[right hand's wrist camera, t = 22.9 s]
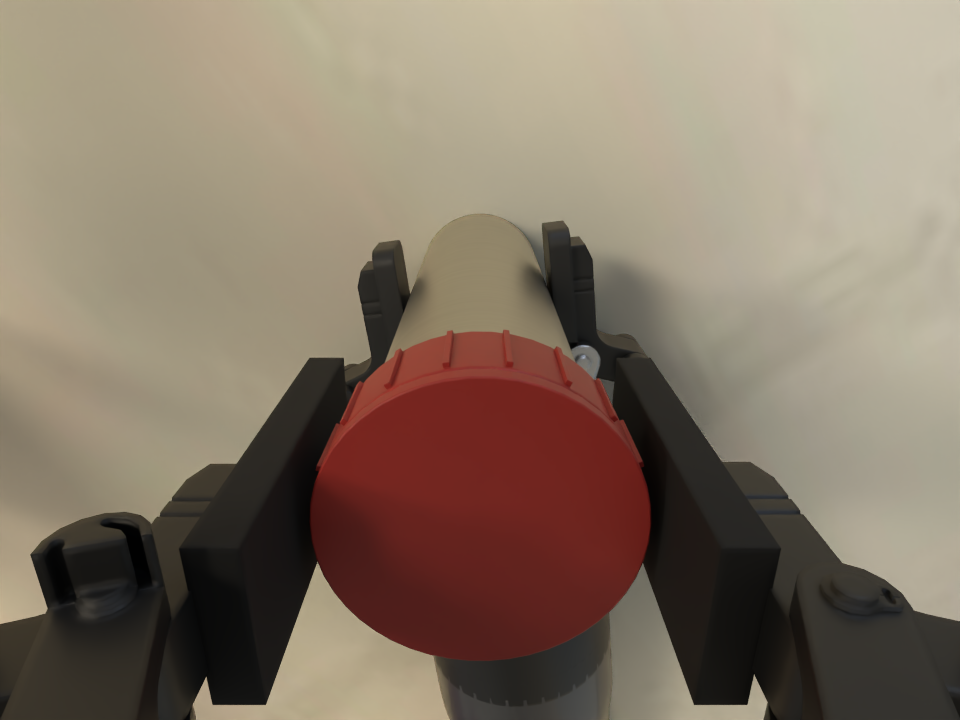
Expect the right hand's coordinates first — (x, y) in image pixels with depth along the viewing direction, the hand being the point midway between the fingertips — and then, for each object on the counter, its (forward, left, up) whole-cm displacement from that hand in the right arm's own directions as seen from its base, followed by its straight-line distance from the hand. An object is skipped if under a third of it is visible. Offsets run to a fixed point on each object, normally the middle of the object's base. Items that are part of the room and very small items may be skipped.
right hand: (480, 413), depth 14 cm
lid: (0, 0, +4) cm, 4 cm away
